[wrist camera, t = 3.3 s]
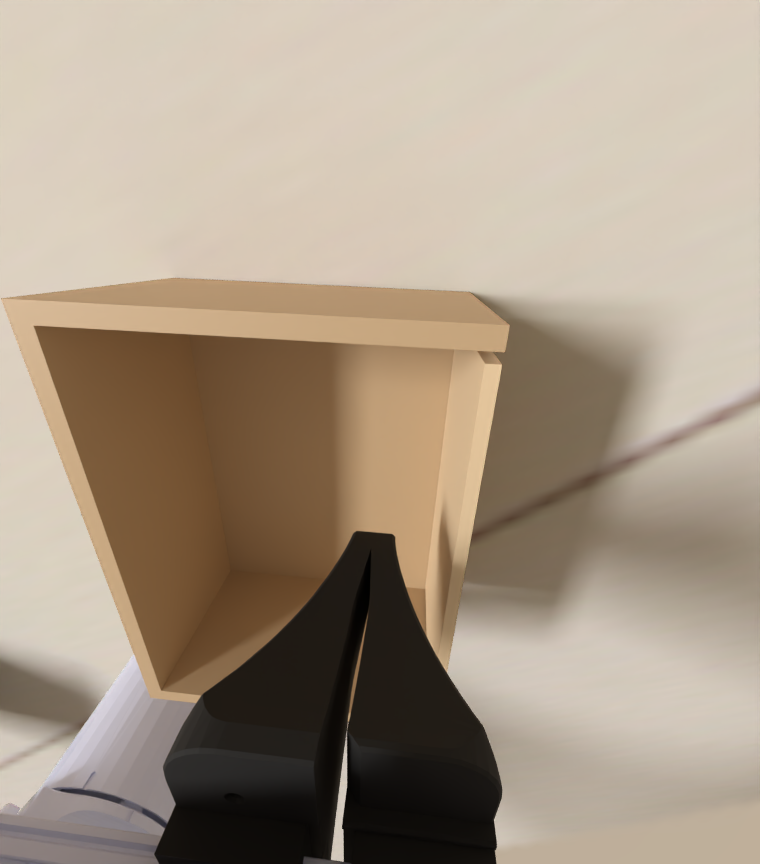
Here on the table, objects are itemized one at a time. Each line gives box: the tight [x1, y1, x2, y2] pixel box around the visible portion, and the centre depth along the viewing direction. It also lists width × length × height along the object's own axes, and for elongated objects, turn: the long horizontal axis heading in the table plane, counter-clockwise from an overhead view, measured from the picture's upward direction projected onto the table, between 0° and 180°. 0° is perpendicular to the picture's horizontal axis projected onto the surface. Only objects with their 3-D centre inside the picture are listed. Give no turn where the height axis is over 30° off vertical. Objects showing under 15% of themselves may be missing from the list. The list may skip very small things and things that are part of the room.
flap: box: [425, 349, 502, 672], centre depth 15 cm, size 14×1×6 cm, turn 178°
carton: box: [1, 278, 510, 722], centre depth 16 cm, size 16×12×7 cm
